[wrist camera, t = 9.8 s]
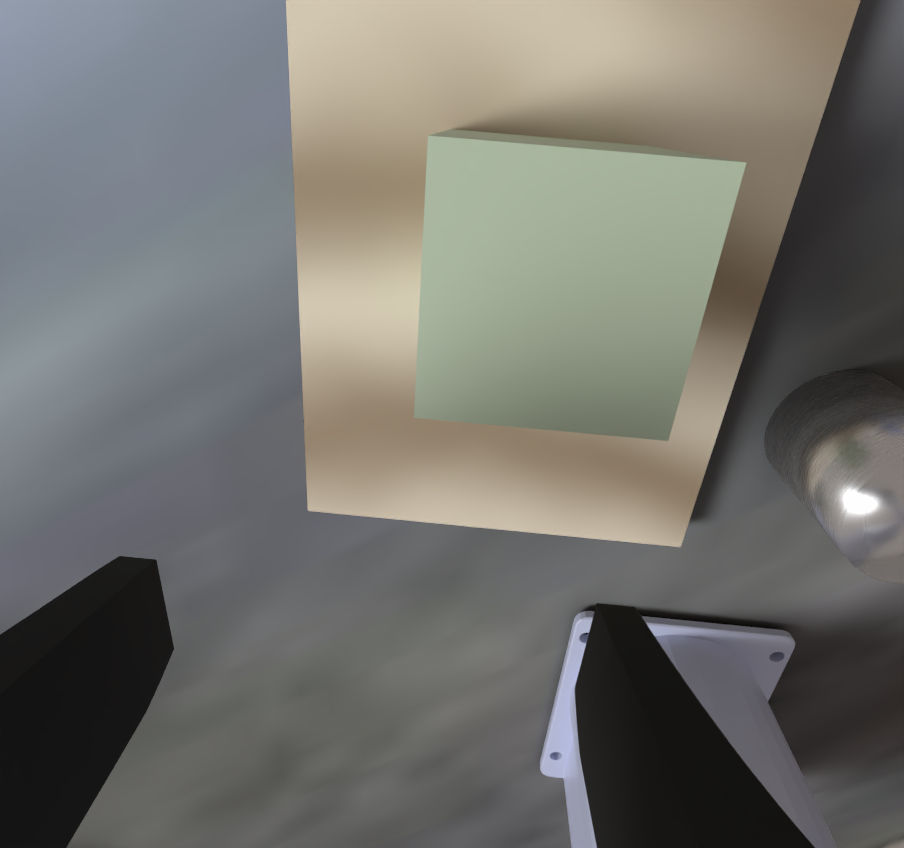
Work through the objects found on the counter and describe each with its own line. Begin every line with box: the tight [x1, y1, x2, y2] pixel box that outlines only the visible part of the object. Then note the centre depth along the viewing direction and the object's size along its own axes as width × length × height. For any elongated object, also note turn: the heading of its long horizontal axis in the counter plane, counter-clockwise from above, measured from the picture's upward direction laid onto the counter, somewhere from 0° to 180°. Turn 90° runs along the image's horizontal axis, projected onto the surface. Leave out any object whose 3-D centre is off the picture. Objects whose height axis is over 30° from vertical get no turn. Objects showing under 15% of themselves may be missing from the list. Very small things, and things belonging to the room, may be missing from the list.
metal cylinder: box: [765, 370, 904, 583], centre depth 16 cm, size 4×4×4 cm
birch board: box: [286, 0, 861, 547], centre depth 15 cm, size 18×12×1 cm, turn 176°
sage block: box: [414, 129, 746, 441], centre depth 12 cm, size 4×4×6 cm
